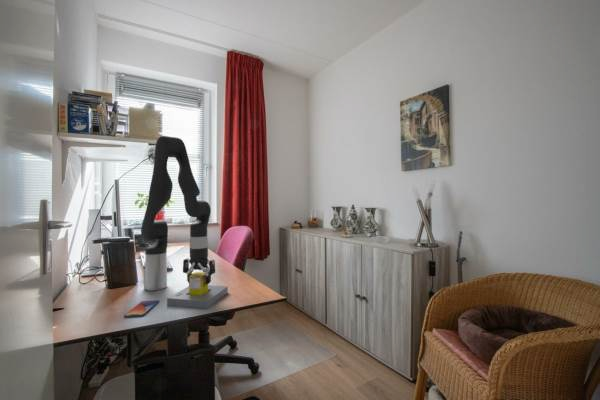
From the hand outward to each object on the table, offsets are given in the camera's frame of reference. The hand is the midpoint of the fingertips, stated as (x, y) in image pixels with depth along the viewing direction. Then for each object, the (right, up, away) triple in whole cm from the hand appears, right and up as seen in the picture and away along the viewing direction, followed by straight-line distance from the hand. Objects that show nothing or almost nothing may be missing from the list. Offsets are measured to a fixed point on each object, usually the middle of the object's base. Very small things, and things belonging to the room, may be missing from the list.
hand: (199, 283), depth 117 cm
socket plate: (0, -7, 0) cm, 7 cm away
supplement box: (0, -7, 0) cm, 7 cm away
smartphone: (-19, -8, -10) cm, 23 cm away
